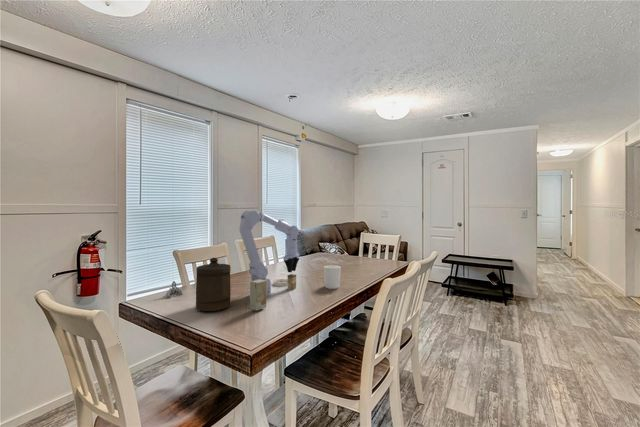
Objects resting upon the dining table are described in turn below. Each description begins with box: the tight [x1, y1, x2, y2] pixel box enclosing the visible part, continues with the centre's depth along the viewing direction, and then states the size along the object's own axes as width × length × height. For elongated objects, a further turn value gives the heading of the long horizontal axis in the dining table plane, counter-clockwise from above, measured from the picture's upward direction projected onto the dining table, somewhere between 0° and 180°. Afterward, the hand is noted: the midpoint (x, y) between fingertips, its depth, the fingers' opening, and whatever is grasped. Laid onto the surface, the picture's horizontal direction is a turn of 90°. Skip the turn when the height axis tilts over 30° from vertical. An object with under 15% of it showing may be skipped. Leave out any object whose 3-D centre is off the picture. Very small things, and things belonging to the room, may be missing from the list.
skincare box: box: [249, 279, 267, 311], centre depth 131 cm, size 6×4×12 cm
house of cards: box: [165, 280, 183, 299], centre depth 153 cm, size 9×9×8 cm
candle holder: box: [323, 264, 342, 290], centre depth 167 cm, size 10×10×12 cm
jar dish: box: [272, 278, 288, 287], centre depth 173 cm, size 9×9×2 cm
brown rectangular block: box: [287, 273, 297, 291], centre depth 163 cm, size 4×4×8 cm
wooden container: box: [195, 257, 231, 312], centre depth 134 cm, size 15×15×22 cm
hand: (291, 271), depth 163 cm, fingers open, 4 cm apart
